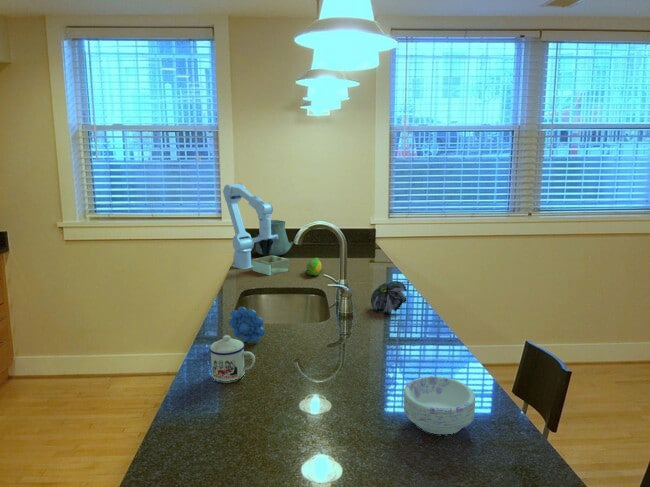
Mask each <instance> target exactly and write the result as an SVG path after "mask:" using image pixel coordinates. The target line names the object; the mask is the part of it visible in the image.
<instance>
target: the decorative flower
mask: <svg viewBox="0 0 650 487" xmlns="http://www.w3.org/2000/svg"><path fill="white" fill-rule="evenodd" d="M407 291H408V290H407V287H406V285H405V284H404V283H403V282H401V281H397V280H392V281H387V282H384V283H381V284H380V285H379V286H378V287H377V288H376V289H375V290H374V291H373V293H372V294H371V297H370V304H371V305H370V306H371V308H372V311H373V312H374V313H383V314H384V316H390V315H391V314H392V311H394V312H397V310H400V308H401V307H402V304H404V303H406V302H407V296H406V295H405V294H404V293H403V292H407Z"/></svg>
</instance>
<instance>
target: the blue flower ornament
mask: <svg viewBox="0 0 650 487" xmlns="http://www.w3.org/2000/svg"><path fill="white" fill-rule="evenodd" d="M230 318H231V319H229V320H228V326H229V327H230V328H232V335H233V336H235V337H236V338H240V337H241V340H242V342H243V343H245V342H249V343H250V342H251V341H252V342H253V343H258V342H260V340H261V337H262V336H265V334H266V331H265V328H264V327H263V326H264V324H265V321H264V319H263V318H262V317H261V316H258V314H257V312H256V310H255V309H252V308H250V309H247V308H246V307H245V306H239V307H238V309H237V310H235V309H234V310H232V311H231V312H230Z"/></svg>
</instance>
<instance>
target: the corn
mask: <svg viewBox="0 0 650 487" xmlns="http://www.w3.org/2000/svg"><path fill="white" fill-rule="evenodd" d="M322 270H323V268H322V262H321V260H320V258H318V257H315V258H312V261H308V262H307V263H306V273H307V274H308V275H309V276H314V277H316V276H318V275H320V274H321V272H322Z"/></svg>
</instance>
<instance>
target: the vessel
mask: <svg viewBox="0 0 650 487" xmlns="http://www.w3.org/2000/svg"><path fill="white" fill-rule="evenodd" d="M271 235H278V239H272V240H273V244H272V246H271V249H270V253H269V255H268V256H277V257H280V256H283V255H285V254H287V253H288V252H289V250H290V249H291V247H292V246H293V241H289V239H288V236H287V232H286V221H284V220H279V219H271ZM259 236H260V234H258V235H257V236H256V237H259ZM255 251H256V252H257V253H258V254H259V255H261V256H264V255H263V252H262V249H261V247H260V245H259V243H258V242H255Z"/></svg>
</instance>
